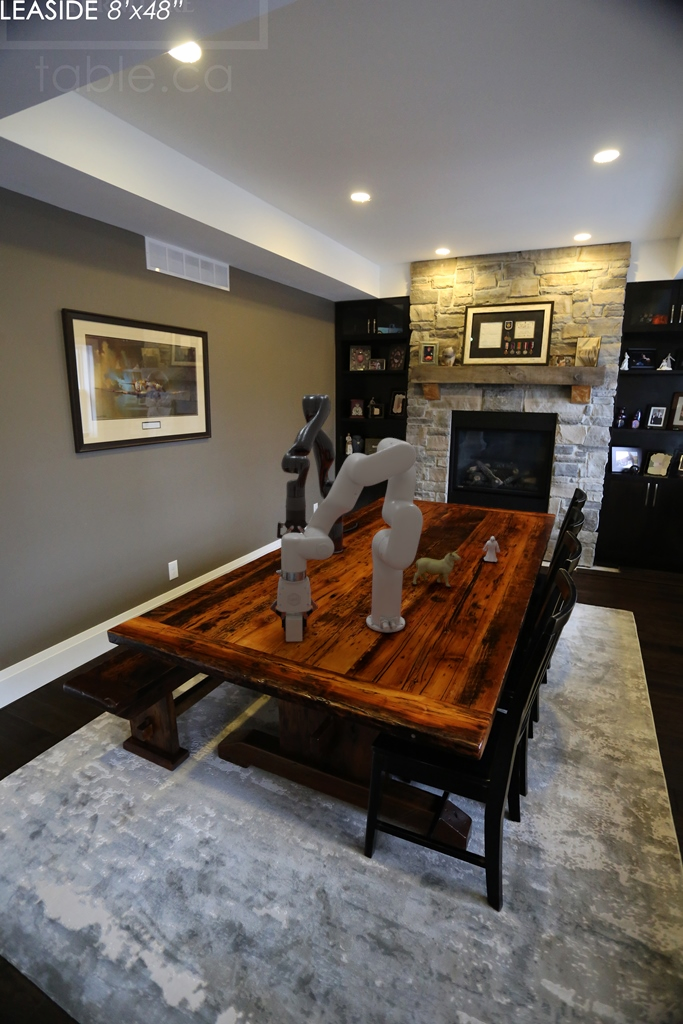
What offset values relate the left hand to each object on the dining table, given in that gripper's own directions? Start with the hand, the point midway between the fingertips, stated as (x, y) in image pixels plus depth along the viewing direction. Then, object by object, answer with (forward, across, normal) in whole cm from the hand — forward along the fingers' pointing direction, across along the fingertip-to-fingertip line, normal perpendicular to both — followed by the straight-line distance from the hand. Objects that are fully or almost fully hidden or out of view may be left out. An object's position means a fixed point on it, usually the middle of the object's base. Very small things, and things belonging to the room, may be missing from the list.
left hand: (295, 548), depth 193 cm
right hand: (+12, 0, +43) cm, 45 cm away
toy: (+14, -55, +5) cm, 57 cm away
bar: (+14, 0, +22) cm, 26 cm away
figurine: (+13, -87, -22) cm, 91 cm away
